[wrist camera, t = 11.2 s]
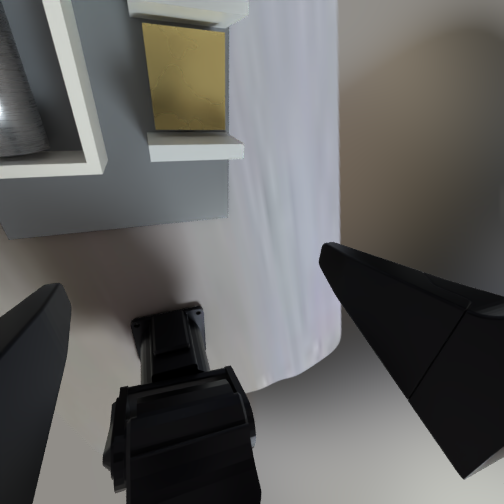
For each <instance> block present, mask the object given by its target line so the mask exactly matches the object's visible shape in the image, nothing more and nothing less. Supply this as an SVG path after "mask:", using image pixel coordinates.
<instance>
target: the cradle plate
mask: <svg viewBox="0 0 504 504" xmlns="http://www.w3.org/2000/svg"><path fill="white" fill-rule="evenodd" d="M142 32H143V40H144V47H145V55H146V62H147V70H148V78H149V85H150V93H151V100H152V108H153V116H154V123H155V129H156V130H225V32H216V31H208V30H200V29H191V28H183V27H174V26H166V25H157V24H149V23H142Z"/></svg>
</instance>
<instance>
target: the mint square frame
mask: <svg viewBox="0 0 504 504" xmlns="http://www.w3.org/2000/svg"><path fill="white" fill-rule="evenodd" d="M1 1H2V4H3V7H4V10H5V13H6V16H7V19H8V22H9V25H10V28H11V31H12V34H13V37H14V40H15V43H16V46H17V49H18V52H19V55H20V58H21V61H22V64H23V67H24V70H25V73H26V76H27V79H28V82H29V85H30V88H31V91H32V94H33V97H34V99H35V102H36V105H37V108H38V111H39V114H40V117H41V120H42V123H43V126H44V129H45V132H46V135H47V138H48V141H49V144H50V148H49V149H47V150H44V151H40V152H36V153H31V154H24V155H15V156H2V157H0V223H1V225H2V227H3V229H4V231H5V233H6V235H7V237H8V239H9V240H11V239H21V238H31V237H41V236H50V235H60V234H70V233H80V232H90V231H100V230H110V229H119V228H129V227H139V226H149V225H159V224H169V223H179V222H188V221H198V220H208V219H218V218H228V174H229V159H244V144H243V143H242V142H240V141H239V140H237V139H236V138H234V137H232V136H231V135H229V26H231V25H233V24H235V23H236V22H238V21H240V20H242V19H244V18H245V17H247V16H248V11H249V0H1ZM142 23H149V24H157V25H166V26H174V27H183V28H191V29H200V30H208V31H216V32H225V130H156V129H155V123H154V116H153V108H152V100H151V93H150V85H149V78H148V70H147V62H146V55H145V47H144V40H143V32H142Z"/></svg>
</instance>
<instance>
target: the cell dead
mask: <svg viewBox="0 0 504 504" xmlns="http://www.w3.org/2000/svg"><path fill="white" fill-rule="evenodd" d="M49 148H50V144H49V141H48V138H47V135H46V132H45V129H44V126H43V123H42V120H41V117H40V114H39V111H38V108H37V105H36V102H35V99H34V97H33V94H32V91H31V88H30V85H29V82H28V79H27V76H26V73H25V70H24V67H23V64H22V61H21V58H20V55H19V52H18V49H17V46H16V43H15V40H14V37H13V34H12V31H11V28H10V25H9V22H8V19H7V16H6V13H5V10H4V7H3V4H2V1H1V0H0V157H2V156H15V155H24V154H31V153H36V152H40V151H44V150H47V149H49Z"/></svg>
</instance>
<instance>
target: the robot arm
mask: <svg viewBox="0 0 504 504" xmlns="http://www.w3.org/2000/svg"><path fill="white" fill-rule="evenodd" d="M319 265H320V268H321V270H322V271H323V273H324V275H325V277H326V279H327V281H328V282H329V284H330V286H331V288H332V290H333V292H334V293H335V295H336V297H337V298H338V300H339V301H340V303H341V304H342V306H343V307H344V308H345V310H346V311H347V313H348V314H349V316H350V317H351V318H352V320H353V321H354V323H355V324H356V326H357V327H358V329H359V330H360V332H361V333H362V335H363V336H364V337H365V339H366V340H367V342H368V343H369V345H370V346H371V347H372V349H373V350H374V352H375V353H376V355H377V356H378V358H379V359H380V360H381V362H382V363H383V365H384V366H385V368H386V369H387V371H388V372H389V374H390V375H391V377H392V378H393V379H394V381H395V382H396V384H397V385H398V387H399V388H400V390H401V391H402V392H403V394H404V395H405V397H406V398H407V399H408V401H409V403H410V404H411V406H412V407H413V409H414V410H415V412H416V413H417V414H418V416H419V417H420V419H421V420H422V422H423V423H424V425H425V426H426V428H427V429H428V430H429V432H430V433H431V434H432V436H433V438H434V439H435V441H436V442H437V443H438V445H439V446H440V448H441V449H442V451H443V452H444V454H445V455H446V456H447V458H448V459H449V461H450V462H451V464H452V465H453V467H454V468H455V470H456V471H457V472H458V473H459V475H460V476H461V477H462V478H463V479H466V478H468V477H470V476H472V475H473V474H475V473H477V472H478V471H480V470H482V469H484V468H485V467H487V466H489V465H491V464H492V463H494V462H496V461H497V460H499V459H501V458H503V457H504V296H500V295H497V294H493V293H490V292H487V291H483V290H480V289H476V288H472V287H469V286H466V285H462V284H459V283H456V282H452V281H449V280H446V279H443V278H440V277H437V276H434V275H431V274H428V273H425V272H424V273H423V272H422V271H419V270H416V269H412V268H410V267H406V266H403V265H401V264H398V263H395V262H392V261H389V260H386V259H383V258H380V257H376V256H374V255H371V254H368V253H365V252H362V251H359V250H356V249H353V248H350V247H347V246H344V245H341V244H338V243H335V242H329V243H324V244H323V245H322V249H321V253H320V258H319ZM197 311H199V312H197ZM70 320H71V304H70V301H69V299H68V296H67V294H66V292H65V289H64V287H63V285H62V284H60V283H54V284H47V285H43V286H42V287H41V288H39V289H38V290H36V291H35V292H34V293H32V294H31V295H30V296H28V297H27V298H26V299H24V300H23V301H22V302H20V303H19V304H18V305H16V306H15V307H14V308H12V309H11V310H10V311H8V312H7V313H6V314H4V315H3V316H2V317H0V504H32V503H33V499H34V495H35V490H36V486H37V482H38V478H39V474H40V469H41V465H42V461H43V456H44V452H45V448H46V444H47V440H48V435H49V431H50V427H51V423H52V418H53V414H54V410H55V406H56V401H57V397H58V393H59V388H60V384H61V380H62V376H63V371H64V367H65V363H66V358H67V351H68V341H69V331H70ZM136 324H138V325H136ZM131 329H132V333H133V336H134V340H135V343H136V347H137V351H138V354H139V358H140V362H141V385H137V386H132V387H128V386H125V387H120V394H119V398H117V399H116V402H115V403H113V404H112V411H111V422H110V429H109V433H108V437H107V441H106V445H105V449H104V453H103V466H104V467H105V468H107V469H108V470H109V471H110V472H111V478H112V480H114V491H115V493H118V492H121V491H124V490H126V502H127V503H126V504H260V501H261V488H260V484H259V480H258V475H257V471H256V467H255V462H254V457H253V451H252V448H254V446H255V441H256V432H255V423H254V418H253V413H252V409H251V406H250V403H249V400H248V398H247V396H246V394H245V392H244V390H243V388H242V386H241V384H240V382H239V380H238V378H237V377H236V375H235V373H234V371H233V369H232V367H231V366H226V367H224V368H221V369H216V370H211V371H210V368H209V363H208V359H207V355H206V351H205V350H206V342H205V327H204V312H203V308H202V307H200V306H197V307H192V308H187V309H182V310H177V311H172V312H167V313H162V314H157V315H152V316H147V317H142V318H137V319H134V320H132V322H131Z"/></svg>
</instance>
